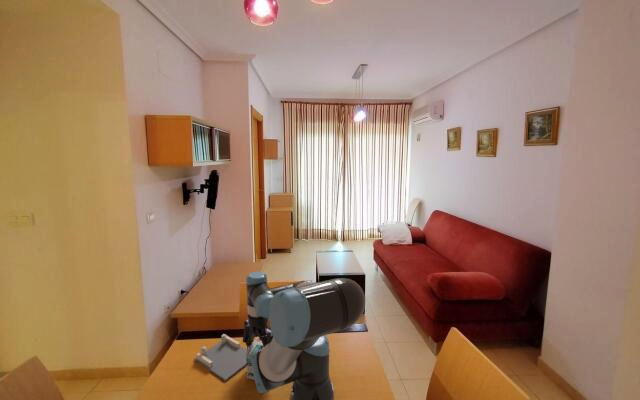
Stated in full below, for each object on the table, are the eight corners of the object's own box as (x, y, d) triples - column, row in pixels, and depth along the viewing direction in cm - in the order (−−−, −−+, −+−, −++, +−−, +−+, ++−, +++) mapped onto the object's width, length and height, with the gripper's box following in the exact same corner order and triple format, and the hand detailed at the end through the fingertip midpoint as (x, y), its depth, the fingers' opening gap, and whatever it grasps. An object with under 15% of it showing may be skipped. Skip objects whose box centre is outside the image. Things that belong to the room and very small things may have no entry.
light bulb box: (263, 382, 112) (262, 356, 110) (246, 379, 113) (245, 354, 111) (273, 362, 122) (272, 338, 120) (257, 359, 123) (256, 336, 121)
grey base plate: (257, 357, 125) (256, 346, 124) (225, 381, 112) (224, 370, 111) (226, 339, 136) (225, 330, 135) (194, 360, 123) (193, 349, 122)
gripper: (286, 316, 110) (287, 370, 114) (245, 299, 122) (248, 348, 126) (272, 327, 104) (273, 383, 108) (231, 307, 116) (234, 359, 120)
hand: (260, 364), depth 117 cm, fingers open, 9 cm apart
